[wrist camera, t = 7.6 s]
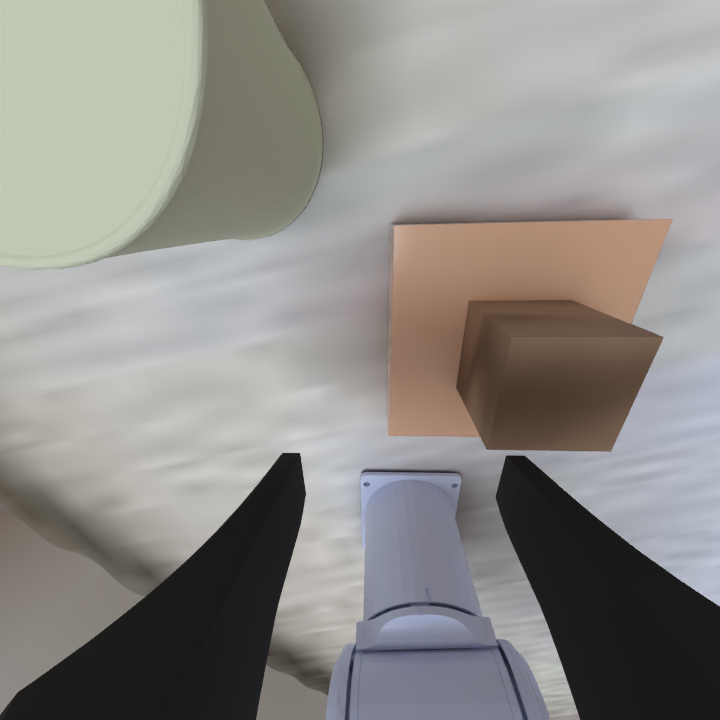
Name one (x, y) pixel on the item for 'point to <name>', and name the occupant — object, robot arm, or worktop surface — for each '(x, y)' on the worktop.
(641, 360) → the walnut cube
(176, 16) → the can
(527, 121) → the worktop surface
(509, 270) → the tan rectangular block
